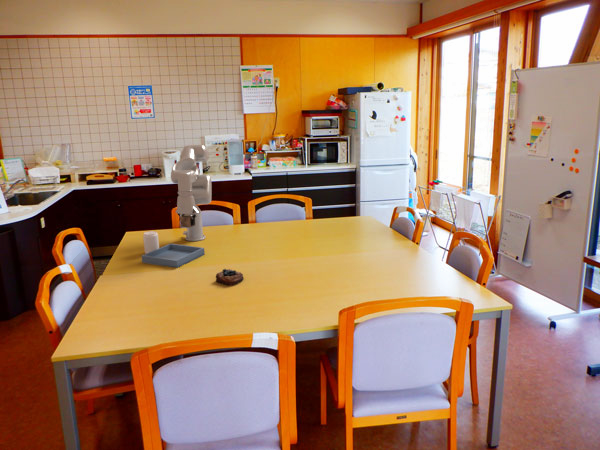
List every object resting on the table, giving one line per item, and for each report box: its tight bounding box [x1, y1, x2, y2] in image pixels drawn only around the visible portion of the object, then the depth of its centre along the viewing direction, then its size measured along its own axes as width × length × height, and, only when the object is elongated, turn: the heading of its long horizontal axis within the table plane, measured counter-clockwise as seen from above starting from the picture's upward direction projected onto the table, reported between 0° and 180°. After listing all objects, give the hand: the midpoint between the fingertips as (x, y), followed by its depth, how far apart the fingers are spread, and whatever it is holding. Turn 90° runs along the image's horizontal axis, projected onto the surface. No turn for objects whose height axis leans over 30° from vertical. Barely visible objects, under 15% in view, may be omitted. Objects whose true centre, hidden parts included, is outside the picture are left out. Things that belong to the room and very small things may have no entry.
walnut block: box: [179, 214, 196, 229], centre depth 272 cm, size 6×6×6 cm
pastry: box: [215, 268, 244, 287], centre depth 229 cm, size 11×12×6 cm
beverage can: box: [142, 230, 160, 254], centre depth 274 cm, size 8×8×12 cm
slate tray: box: [140, 243, 206, 269], centre depth 264 cm, size 24×24×4 cm
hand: (188, 224), depth 273 cm, fingers closed on walnut block, 6 cm apart
